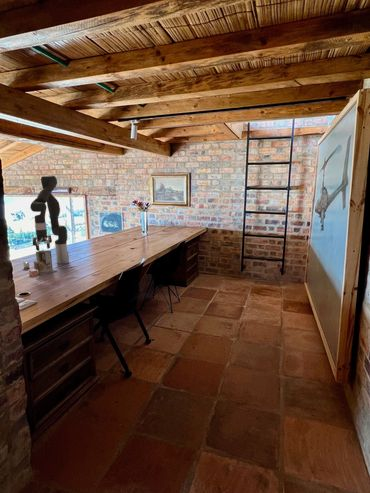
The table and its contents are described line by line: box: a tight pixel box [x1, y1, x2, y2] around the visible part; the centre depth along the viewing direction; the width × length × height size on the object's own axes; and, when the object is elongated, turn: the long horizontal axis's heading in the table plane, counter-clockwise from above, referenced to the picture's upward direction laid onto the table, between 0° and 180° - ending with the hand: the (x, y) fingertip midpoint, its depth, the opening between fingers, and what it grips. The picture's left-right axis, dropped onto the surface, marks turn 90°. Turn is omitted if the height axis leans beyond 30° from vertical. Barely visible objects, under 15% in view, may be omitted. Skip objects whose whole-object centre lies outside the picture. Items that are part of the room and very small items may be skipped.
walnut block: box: [33, 260, 38, 269], centre depth 234 cm, size 5×5×5 cm
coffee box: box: [35, 249, 54, 273], centre depth 218 cm, size 9×6×16 cm
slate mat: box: [37, 269, 58, 276], centre depth 219 cm, size 12×12×1 cm
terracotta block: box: [28, 268, 39, 277], centre depth 212 cm, size 4×4×4 cm
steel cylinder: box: [23, 261, 30, 270], centre depth 229 cm, size 4×4×5 cm
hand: (43, 249), depth 215 cm, fingers open, 8 cm apart
